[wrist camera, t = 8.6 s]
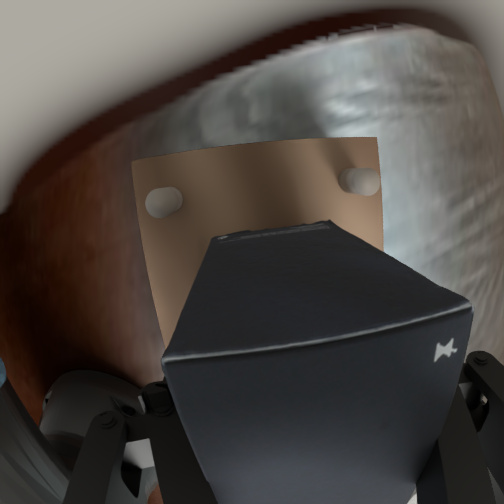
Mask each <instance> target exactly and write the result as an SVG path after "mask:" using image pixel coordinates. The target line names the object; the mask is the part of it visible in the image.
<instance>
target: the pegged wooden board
mask: <svg viewBox="0 0 504 504" xmlns="http://www.w3.org/2000/svg"><path fill="white" fill-rule="evenodd" d="M131 167H132V176H133V184H134V192H135V199H136V206H137V213H138V220H139V226H140V232H141V238H142V244H143V250H144V255H145V261H146V266H147V271H148V276H149V281H150V286H151V290H152V295H153V300H154V304H155V308H156V313H157V317H158V321H159V325H160V329H161V333H162V337H163V341H164V345H165V349H166V348H167V347H168V345H169V342H170V340H171V338H172V335H173V332H174V331H175V328H176V325H177V322H178V319H179V317H180V314H181V311H182V309H183V307H184V304H185V302H186V299H187V297H188V294H189V292H190V290H191V287H192V285H193V282H194V280H195V278H196V276H197V273H198V270H199V268H200V266H201V263H202V261H203V259H204V256H205V254H206V251H207V249H208V246H209V244H210V241H211V238H213V237H215V236H222V235H226V234H230V233H233V232H239V231H245V230H250V231H255V230H263V229H266V228H268V229H273V228H281V227H284V226H285V227H289V226H294V225H301V224H303V223H306V224H312V223H315V222H318V221H322V220H323V221H327V220H329V219H330V220H331V221H332V222H334V223H335V224H336V225H337V226H339V227H340V228H342V229H344V230H346V231H348V232H349V233H351V234H353V235H355V236H357V237H359V238H361V239H362V240H364V241H365V242H367V243H369V244H371V245H372V246H374V247H376V248H378V249H379V250H381V251H383V209H382V190H381V176H380V164H379V154H378V144H377V137H341V138H313V139H295V140H280V141H268V142H257V143H247V144H237V145H228V146H220V147H212V148H205V149H198V150H191V151H185V152H178V153H172V154H166V155H160V156H155V157H149V158H144V159H139V160H134V161H131Z"/></svg>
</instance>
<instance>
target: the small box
mask: <svg viewBox="0 0 504 504" xmlns="http://www.w3.org/2000/svg"><path fill="white" fill-rule="evenodd" d="M473 316H474V306H473V304H472V303H471V302H470V301H469V300H468V299H466V298H465V297H463V296H461V295H459V294H457V293H454V292H452V291H450V290H448V289H446V288H444V287H441V286H439V285H437V284H435V283H434V282H432V281H430V280H429V279H427V278H426V277H425V276H423V275H421V274H420V273H418V272H416V271H414V270H413V269H412V268H410V267H408V266H407V265H405V264H403V263H401V262H399V261H398V260H396V259H395V258H393V257H391V256H389V255H388V254H386V253H385V252H383V251H381V250H379V249H378V248H376V247H374V246H372V245H371V244H369V243H367V242H365V241H364V240H362V239H361V238H359V237H357V236H355V235H353V234H351V233H349V232H348V231H346V230H344V229H342V228H340V227H339V226H337V225H336V224H335V223H334V222H332V221H331V220H330V219H329V220H327V221H323V220H322V221H318V222H315V223H312V224H306V223H303V224H301V225H294V226H289V227H285V226H284V227H281V228H273V229H268V228H266V229H263V230H255V231H250V230H245V231H239V232H233V233H230V234H226V235H222V236H215V237H213V238H211V241H210V244H209V246H208V249H207V251H206V254H205V256H204V259H203V261H202V263H201V266H200V268H199V270H198V273H197V276H196V278H195V280H194V282H193V285H192V287H191V290H190V292H189V294H188V297H187V299H186V302H185V304H184V307H183V309H182V311H181V314H180V317H179V319H178V322H177V325H176V328H175V331H174V332H173V335H172V338H171V340H170V342H169V345H168V347H167V348H166V350H165V352H164V354H163V356H162V358H161V365H162V370H163V373H164V375H165V378H166V381H167V384H168V387H169V390H170V392H171V395H172V398H173V401H174V404H175V407H176V410H177V412H178V415H179V417H180V420H181V422H182V425H183V427H184V430H185V432H186V435H187V437H188V439H189V442H190V444H191V447H192V449H193V451H194V454H195V456H196V458H197V460H198V463H199V465H200V467H201V469H202V472H203V474H204V476H205V478H206V480H207V481H208V482H209V483H210V486H211V488H212V490H213V493H214V495H215V497H216V500H217V502H218V504H407V503H408V501H409V500H410V498H411V496H412V494H413V492H414V490H415V488H416V483H417V481H418V479H419V477H420V475H421V473H422V471H423V469H424V467H425V465H426V463H427V461H428V459H429V456H430V454H431V452H432V450H433V448H434V445H435V443H436V440H437V438H438V437H439V436H440V434H441V431H442V428H443V426H444V423H445V421H446V418H447V415H448V412H449V409H450V406H451V403H452V400H453V397H454V394H455V391H456V387H457V384H458V381H459V377H460V373H461V370H462V366H463V363H464V359H465V354H466V350H467V345H468V341H469V337H470V331H471V326H472V321H473Z"/></svg>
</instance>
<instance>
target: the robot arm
mask: <svg viewBox="0 0 504 504" xmlns="http://www.w3.org/2000/svg"><path fill="white" fill-rule="evenodd" d="M483 396H485V397H486V398H487V399H488V400H487V403H485V402H484V401H483V400H482V399H483ZM487 467H488V468H489V470H490V472H491V473H492V475H493V477H494V478H495V480H496V482H497V483H498V485H499V487H500V489H501V491H502V492H503V494H504V366H503V365H502V364H501V363H500V362H499V361H498V360H497V359H496V358H495V357H494V356H492V355H491V354H489V353H487V352H485V351H474V352H471V353H469V354H468V356H467V358H466V362H465V363H463V366H462V370H461V373H460V377H459V381H458V384H457V387H456V391H455V394H454V397H453V400H452V403H451V406H450V409H449V412H448V415H447V418H446V421H445V423H444V426H443V428H442V431H441V434H440V436H439V437H438V438H437V440H436V443H435V445H434V448H433V450H432V452H431V454H430V456H429V459H428V461H427V463H426V465H425V467H424V469H423V471H422V473H421V475H420V477H419V479H418V481H417V483H416V494H417V504H496V501H495V496H494V492H493V488H492V484H491V480H490V476H489V472H488V468H487ZM158 483H159V487H160V491H161V495H162V499H163V503H164V504H218V502H217V500H216V497H215V495H214V493H213V490H212V488H211V486H210V483H209V482H208V481H207V480H206V478H205V476H204V474H203V472H202V469H201V467H200V465H199V463H198V460H197V458H196V456H195V454H194V451H193V449H192V447H191V444H190V442H189V439H188V437H187V435H186V432H185V430H184V427H183V425H182V422H181V420H180V417H179V415H178V412H177V410H176V407H175V404H174V401H173V398H172V395H171V392H170V390H169V387H168V384H167V381H166V378H165V376H164V379H163V381H158V382H153V383H150V384H147V385H146V386H144V387H143V388H142V389H139V388H137V387H136V386H134V385H132V384H130V383H128V382H127V381H124V380H122V379H120V378H118V377H115V376H112V375H109V374H106V373H103V372H98V371H92V370H74V371H70V372H67V373H65V374H63V375H61V376H60V377H59V378H57V380H56V381H55V382H54V383H53V385H52V386H51V387H50V389H49V390H48V391H47V393H46V395H45V398H44V401H43V412H42V415H41V418H40V422H39V427H38V426H37V425H36V423H35V422H34V420H33V419H32V417H31V416H30V414H29V413H28V411H27V410H26V408H25V407H24V405H23V403H22V402H21V400H20V399H19V397H18V395H17V394H16V392H15V390H14V388H13V387H12V385H11V383H10V381H9V380H8V378H7V376H6V370H5V367H4V364H3V361H2V359H1V358H0V504H147V502H148V497H149V495H150V494H151V493H152V491H153V490H154V489H155V487H156V486H157V484H158Z"/></svg>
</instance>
